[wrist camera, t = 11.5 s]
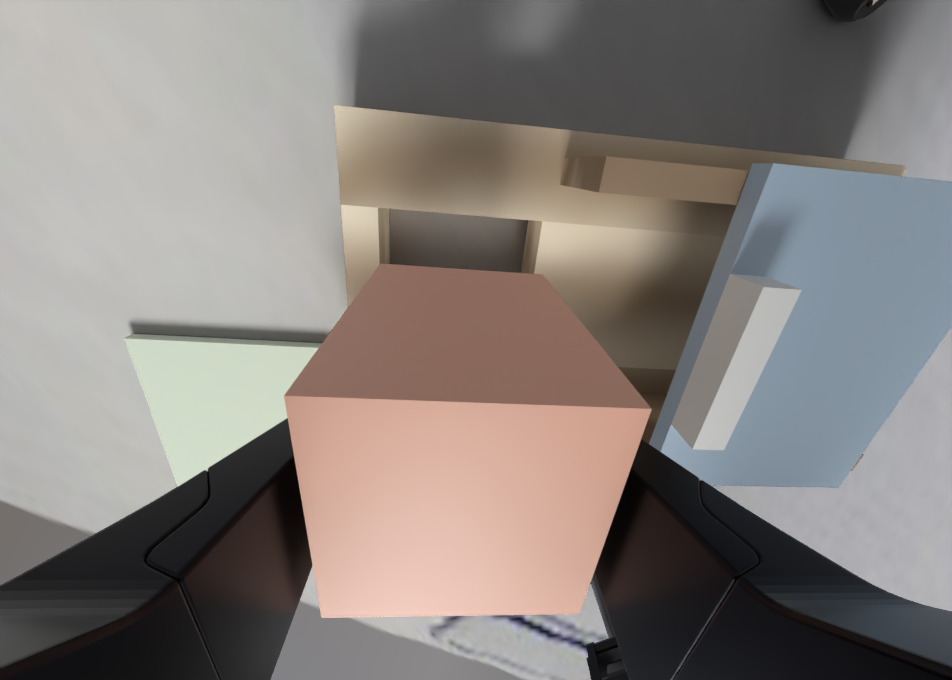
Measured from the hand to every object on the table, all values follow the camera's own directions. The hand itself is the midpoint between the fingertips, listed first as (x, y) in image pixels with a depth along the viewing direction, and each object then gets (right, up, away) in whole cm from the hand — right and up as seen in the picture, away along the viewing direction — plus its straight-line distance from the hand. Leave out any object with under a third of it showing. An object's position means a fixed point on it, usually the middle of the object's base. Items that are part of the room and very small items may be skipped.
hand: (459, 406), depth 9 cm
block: (0, +2, +3) cm, 4 cm away
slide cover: (+13, +1, +5) cm, 14 cm away
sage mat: (-13, -3, +14) cm, 20 cm away
